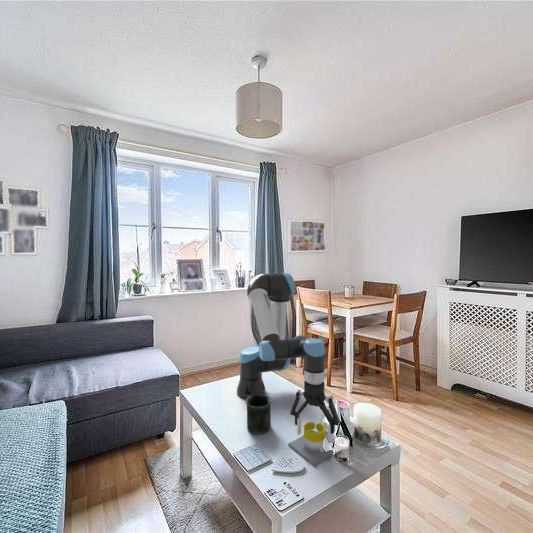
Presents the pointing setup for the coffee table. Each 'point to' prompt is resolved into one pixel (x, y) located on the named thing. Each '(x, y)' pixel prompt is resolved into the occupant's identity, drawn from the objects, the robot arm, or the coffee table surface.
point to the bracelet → (314, 436)
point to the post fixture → (310, 450)
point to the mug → (258, 413)
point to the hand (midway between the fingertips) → (314, 437)
